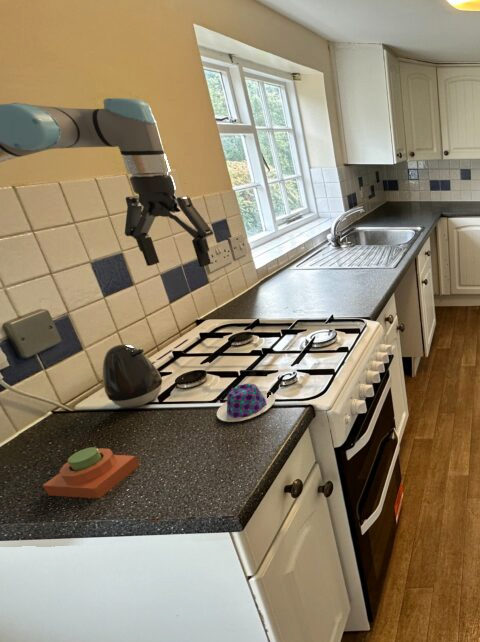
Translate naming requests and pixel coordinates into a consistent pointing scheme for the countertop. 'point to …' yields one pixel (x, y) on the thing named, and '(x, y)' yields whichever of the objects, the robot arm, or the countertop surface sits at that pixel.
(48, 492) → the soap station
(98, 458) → the button
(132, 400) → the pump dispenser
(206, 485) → the countertop surface
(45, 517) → the countertop surface
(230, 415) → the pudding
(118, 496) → the countertop surface
